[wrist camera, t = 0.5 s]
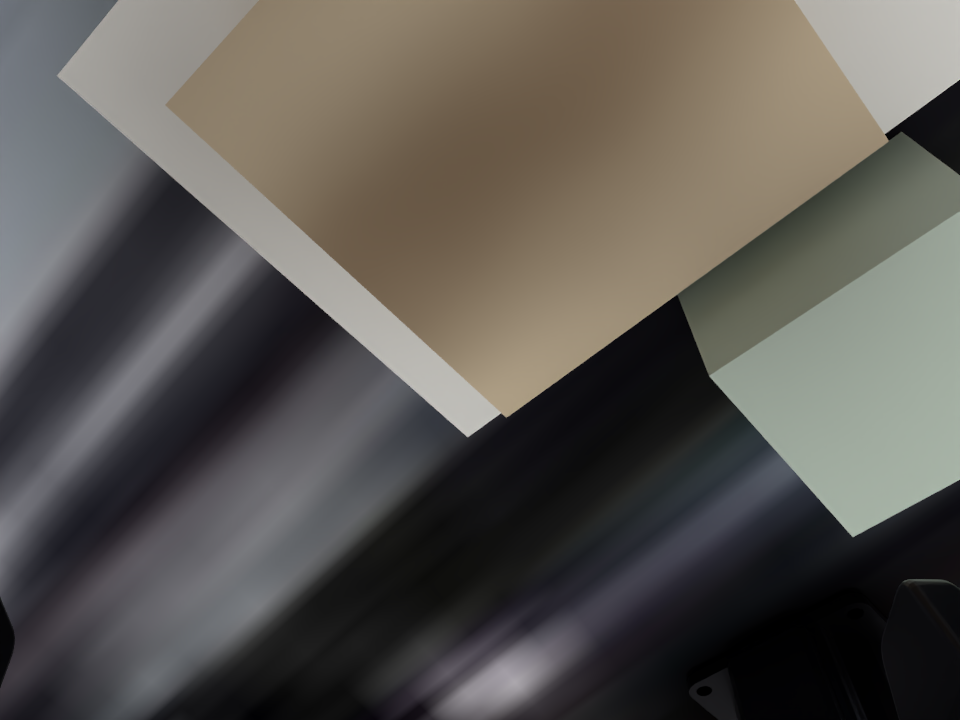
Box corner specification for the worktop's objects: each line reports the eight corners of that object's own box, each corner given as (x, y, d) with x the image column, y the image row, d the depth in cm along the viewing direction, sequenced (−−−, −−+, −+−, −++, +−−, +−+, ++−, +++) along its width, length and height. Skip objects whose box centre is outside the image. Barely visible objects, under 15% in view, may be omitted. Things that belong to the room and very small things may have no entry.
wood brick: (809, 77, 17) (889, 141, 13) (504, 316, 20) (506, 417, 16) (547, -300, 14) (565, -341, 10) (232, 47, 17) (164, 105, 13)
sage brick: (1013, 307, 21) (1110, 398, 18) (801, 434, 24) (852, 537, 20) (897, 129, 19) (985, 194, 16) (675, 288, 21) (709, 375, 18)
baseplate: (965, 33, 18) (1001, 49, 17) (469, 403, 23) (467, 437, 22) (608, -574, 13) (620, -616, 12) (87, 58, 18) (57, 75, 17)
